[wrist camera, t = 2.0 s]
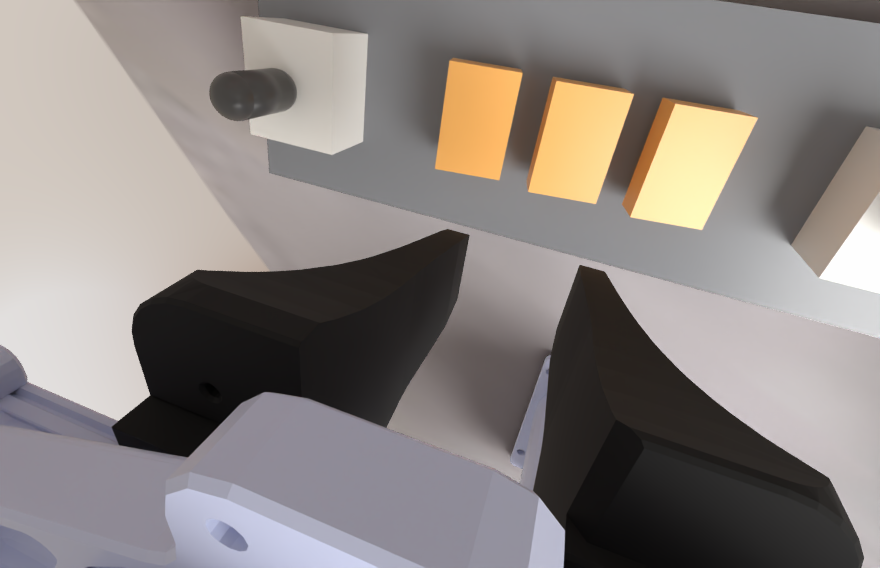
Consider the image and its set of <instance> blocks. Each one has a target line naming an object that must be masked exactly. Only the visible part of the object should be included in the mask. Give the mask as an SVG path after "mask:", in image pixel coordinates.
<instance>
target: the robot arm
mask: <svg viewBox="0 0 880 568" xmlns="http://www.w3.org/2000/svg"><path fill="white" fill-rule="evenodd" d="M468 240H469V235H467V234H464V233H460V232H456V231H453V230H449V229H447V230H443V231H440V232H438V233H435V234H433V235H430V236H428V237H425V238H423V239H421V240H418V241H415V242H413V243H410V244H408V245H405V246H403V247H400V248H397V249H394V250H391V251H388V252H385V253H382V254H379V255H376V256H373V257H369V258H366V259H362V260H358V261H353V262H349V263H344V264H339V265H333V266H326V267H318V268H311V269H303V270H292V271H274V272H233V271H232V272H231V271H206V270H196V271H194V272H193V273H191V274H190V275H188V276H186V277H185V278H183V279H181V280H179V281H178V282H176V283H175V284H173V285H171V286H169V287H168V288H166V289H165V290H163V291H161V292H160V293H158V294H156V295H155V296H153V297H151V298H150V299H148V300H146V301H145V302H143V303H142V304H140V306H139V307H138V309H137V310H136V312H135V313H134V316H133V324H132V335H133V340H134V345H135V349H136V352H137V355H138V358H139V361H140V364H141V367H142V370H143V373H144V377H145V380H146V383H147V386H148V389H149V392H150V396H149V397H148V398H147V399H145V400H144V401H143V402H142V403H140V404H139V405H138V406H137V407H135V408H134V409H133V410H132V411H130V412H129V413H128V414H127V415H125V416H124V417H123V418H122V419H121V420H119V421H116V420H114V419H112V418H109V417H107V416H105V415H103V414H100V413H98V412H96V411H93V410H91V409H89V408H86V407H84V406H82V405H79V404H77V403H75V402H73V401H70V400H68V399H66V398H63V397H61V396H59V395H56V394H54V393H52V392H49V391H47V390H45V389H42V388H40V387H38V386H36V385H33V384H31V383H29V382H27V376H26V373H25V371H24V368H23V366H22V365H21V363H20V362H19V360H18V359H17V357H16V356H15V355H14V354H13V353H12V352H10V351H9V350H8V349H6V348H5V347H3V346H1V345H0V568H861V567H862V563H863V560H864V556H863V552H862V549H861V545H860V541H859V538H858V536H857V534H856V532H855V530H854V528H853V526H852V524H851V521H850V519H849V517H848V515H847V513H846V511H845V509H844V507H843V505H842V503H841V501H840V499H839V497H838V495H837V493H836V491H835V489H834V487H833V485H832V483H831V481H830V479H829V478H828V477H826V476H825V475H823V474H822V473H820V472H818V471H817V470H815V469H814V468H812V467H810V466H809V465H807V464H806V463H804V462H802V461H801V460H799V459H798V458H796V457H794V456H793V455H791V454H790V453H788V452H786V451H785V450H783V449H782V448H780V447H778V446H777V445H775V444H774V443H772V442H770V441H769V440H767V439H766V438H764V437H763V436H761V435H760V434H759V433H757V432H756V431H754V430H753V429H752V428H750V427H749V426H747V425H746V424H745V423H743V422H742V421H740V420H739V419H738V418H736V417H735V416H733V415H732V414H731V413H730V412H728V411H727V410H726V409H724V408H723V407H722V406H721V405H719V404H718V403H717V402H715V401H714V400H713V399H712V398H711V397H709V396H708V395H707V394H706V393H705V392H704V391H702V390H701V389H700V388H699V387H698V386H697V385H695V384H694V383H693V382H692V381H691V380H690V379H689V378H687V377H686V376H685V375H684V374H683V373H682V372H681V371H680V370H679V369H678V368H677V367H676V366H675V365H674V364H673V363H672V362H671V361H670V360H669V359H668V358H667V357H666V356H665V355H664V354H663V353H662V352H661V351H660V349H659V348H658V347H657V346H656V345H655V344H654V343H653V341H652V340H651V339H650V338H649V336H648V335H647V334H646V333H645V331H644V330H643V329H642V328H641V326H640V325H639V324H638V322H637V321H636V320H635V318H634V317H633V316H632V314H631V313H630V311H629V310H628V308H627V307H626V305H625V304H624V302H623V301H622V299H621V298H620V296H619V294H618V293H617V291H616V289H615V288H614V286H613V285H612V283H611V281H610V279H609V278H608V276H607V275H606V273H605V272H604V271H600V270H597V269H593V268H589V267H585V266H582V265H580V266H579V268H578V271H577V274H576V277H575V279H574V282H573V285H572V288H571V291H570V293H569V296H568V299H567V302H566V305H565V307H564V310H563V313H562V316H561V319H560V321H559V324H558V327H557V330H556V335H555V339H554V343H553V348H552V352H551V355H549V356H547V357H546V358H545V360H544V363H543V366H542V369H541V372H540V375H539V377H538V380H537V383H536V386H535V389H534V392H533V394H532V397H531V400H530V403H529V406H528V409H527V411H526V414H525V417H524V420H523V423H522V425H521V428H520V431H519V434H518V437H517V440H516V442H515V445H514V448H513V451H512V454H511V457H510V462H511V463H512V464H513V465H514V466H516V467H519V468H521V469H523V470H522V475H521V480H520V483H518V482H516V481H515V480H513V479H511V478H509V477H508V476H506V475H504V474H502V473H501V472H499V471H497V470H495V469H494V468H491V467H488V466H486V465H483V464H481V463H478V462H475V461H473V460H470V459H467V458H465V457H462V456H459V455H457V454H454V453H451V452H449V451H446V450H443V449H441V448H438V447H435V446H433V445H430V444H428V443H425V442H422V441H420V440H417V439H414V438H412V437H409V436H406V435H404V434H401V433H398V432H396V431H393V430H390V429H388V428H386V427H387V425H388V423H389V421H390V419H391V417H392V415H393V413H394V411H395V409H396V407H397V405H398V403H399V400H400V398H401V396H402V395H403V393H404V391H405V389H406V388H407V386H408V384H409V382H410V381H411V379H412V378H413V376H414V375H415V373H416V371H417V370H418V368H419V367H420V365H421V364H422V362H423V360H424V359H425V357H426V356H427V354H428V353H429V351H430V349H431V348H432V346H433V345H434V343H435V342H436V340H437V338H438V337H439V335H440V334H441V332H442V330H443V329H444V327H445V325H446V323H447V321H448V319H449V316H450V314H451V312H452V310H453V307H454V305H455V303H456V301H457V298H458V293H459V287H460V282H461V277H462V272H463V266H464V261H465V256H466V251H467V245H468ZM548 369H549V370H548ZM520 449H521V450H520ZM522 450H523V451H522Z"/></svg>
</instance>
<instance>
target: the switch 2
mask: <svg viewBox="0 0 880 568" xmlns="http://www.w3.org/2000/svg"><path fill="white" fill-rule="evenodd" d="M757 119H758V118H757V117H755V116H752V115H750V114H747V113H745V112H742V111H739V110H734V109H728V108H722V107H716V106H710V105H704V104H698V103H692V102H687V101H681V100H675V99H669V98H662V101H661V103H660V106H659V109H658V111H657V114H656V116H655V119H654V122H653V124H652V127H651V129H650V132H649V135H648V137H647V140H646V143H645V145H644V148H643V150H642V153H641V156H640V158H639V161H638V163H637V166H636V169H635V171H634V174H633V177H632V179H631V182H630V184H629V187H628V190H627V192H626V195H625V198H624V200H623V203H622V205H623V207H624V208H625V210H626V211H627V213H628V215H629V216H630V217H632V218H638V219H643V220H649V221H654V222H660V223H666V224H671V225H677V226H683V227H688V228H694V229H699V230H702V229H703V227H704V225H705V223H706V221H707V219H708V217H709V215H710V213H711V211H712V209H713V207H714V205H715V203H716V201H717V199H718V197H719V195H720V193H721V191H722V189H723V187H724V185H725V183H726V181H727V179H728V177H729V175H730V173H731V171H732V169H733V167H734V165H735V163H736V161H737V159H738V157H739V155H740V153H741V151H742V149H743V147H744V145H745V143H746V141H747V139H748V137H749V135H750V133H751V131H752V129H753V127H754V125H755V123H756V121H757Z"/></svg>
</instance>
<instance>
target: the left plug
mask: <svg viewBox="0 0 880 568" xmlns="http://www.w3.org/2000/svg"><path fill="white" fill-rule="evenodd" d="M240 17H241V29H242V41H243V52H244V64H245V70H243V71H232V72H225V73H222V74H220V75H218V76H217V77H216V78H215V79H214V80H213V81H212V83H211V86H210V99H211V102H212V104H213V106H214V108H215V109H216V110H217V111H218V112H219V113H220V114H221V115H222V116H224V117H225V118H227V119H230V120H234V121H244V120H248V119H249V122H250V134H251V135H255V136H259V137H263V138H267V139H271V140H275V141H279V142H283V143H287V144H291V145H295V146H299V147H303V148H306V149H310V150H314V151H318V152H322V153H326V154H330V155H333V154H335V153H338V152H340V151H342V150H345V149H347V148H350V147H352V146H354V145H357V144H359V143H361V142H363V132H364V110H365V89H366V68H367V47H368V34H366V33H361V32H355V31H350V30H344V29H339V28H334V27H328V26H323V25H317V24H312V23H307V22H301V21H296V20H290V19H285V18H268V17H250V16H240Z"/></svg>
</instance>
